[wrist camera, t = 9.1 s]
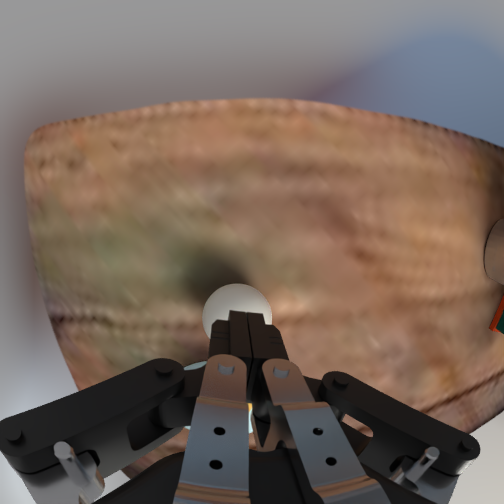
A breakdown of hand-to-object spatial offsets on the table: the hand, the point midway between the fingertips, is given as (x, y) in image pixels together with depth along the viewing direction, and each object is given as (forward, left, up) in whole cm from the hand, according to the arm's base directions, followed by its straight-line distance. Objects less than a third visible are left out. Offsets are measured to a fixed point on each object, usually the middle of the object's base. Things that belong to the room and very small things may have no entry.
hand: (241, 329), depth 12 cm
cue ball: (+1, +5, -10) cm, 12 cm away
